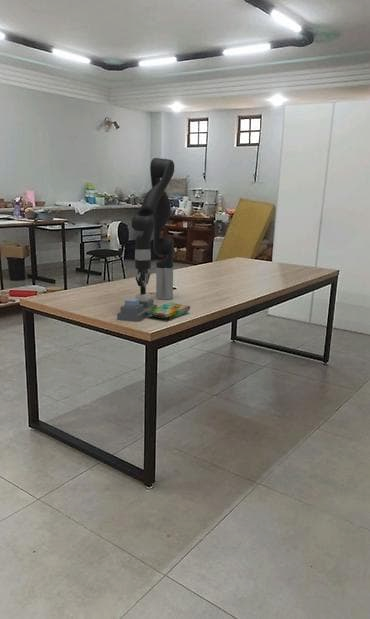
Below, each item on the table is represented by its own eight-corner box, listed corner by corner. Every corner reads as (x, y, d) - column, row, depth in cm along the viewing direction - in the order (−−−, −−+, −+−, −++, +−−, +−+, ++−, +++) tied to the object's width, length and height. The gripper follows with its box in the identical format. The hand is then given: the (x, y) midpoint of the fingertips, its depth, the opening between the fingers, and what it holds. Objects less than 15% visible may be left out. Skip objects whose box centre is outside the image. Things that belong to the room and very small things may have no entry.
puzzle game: (190, 304, 230) (166, 312, 213) (190, 313, 231) (166, 322, 214) (170, 301, 236) (145, 308, 220) (170, 310, 237) (145, 318, 221)
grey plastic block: (136, 308, 237) (136, 296, 236) (156, 310, 234) (156, 298, 233) (117, 319, 217) (116, 306, 215) (139, 321, 214) (139, 308, 212)
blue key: (129, 304, 221) (129, 298, 220) (139, 305, 220) (139, 299, 219) (124, 306, 217) (124, 300, 216) (134, 307, 215) (134, 301, 214)
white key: (140, 298, 233) (140, 292, 232) (149, 299, 232) (149, 293, 231) (136, 300, 229) (136, 294, 228) (145, 301, 227) (145, 295, 226)
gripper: (141, 256, 232) (141, 291, 237) (129, 259, 220) (130, 296, 224) (155, 257, 230) (155, 292, 234) (144, 260, 218) (145, 297, 222)
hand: (143, 294), depth 229 cm, fingers closed
